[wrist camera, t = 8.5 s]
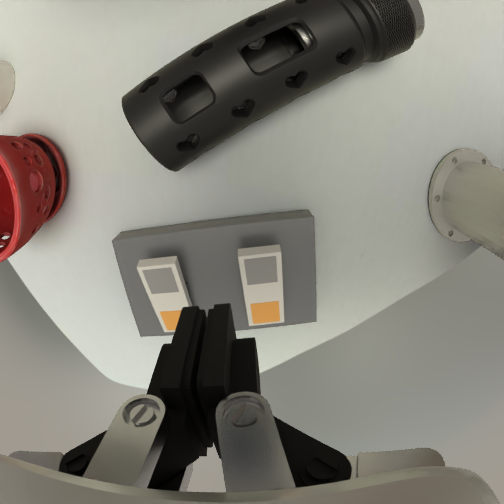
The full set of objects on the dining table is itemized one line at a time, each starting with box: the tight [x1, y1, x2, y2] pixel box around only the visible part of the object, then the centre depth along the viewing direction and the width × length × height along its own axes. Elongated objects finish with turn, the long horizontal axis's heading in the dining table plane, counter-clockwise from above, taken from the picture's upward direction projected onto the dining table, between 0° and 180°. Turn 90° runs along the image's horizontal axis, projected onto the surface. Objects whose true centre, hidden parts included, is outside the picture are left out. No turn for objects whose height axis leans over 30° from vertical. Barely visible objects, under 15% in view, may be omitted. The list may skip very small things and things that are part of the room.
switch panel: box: [112, 210, 316, 337], centre depth 36 cm, size 22×13×4 cm, turn 96°
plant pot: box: [0, 134, 66, 262], centre depth 27 cm, size 13×13×12 cm
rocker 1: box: [137, 256, 192, 332], centre depth 33 cm, size 4×10×1 cm, turn 6°
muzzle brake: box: [122, 0, 425, 172], centre depth 24 cm, size 10×28×10 cm, turn 122°
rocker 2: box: [238, 244, 284, 326], centre depth 33 cm, size 4×10×1 cm, turn 6°
